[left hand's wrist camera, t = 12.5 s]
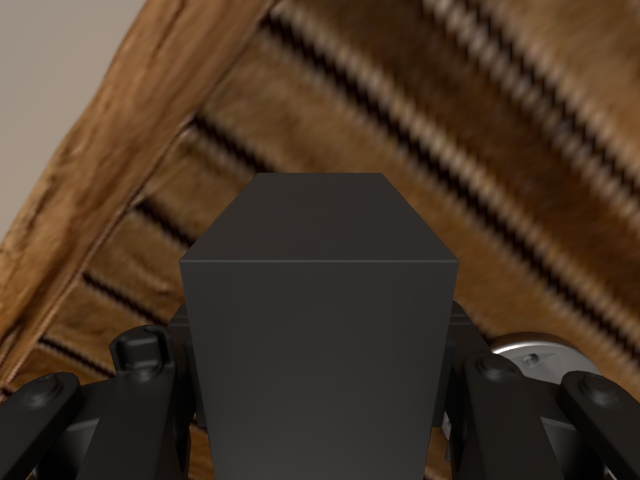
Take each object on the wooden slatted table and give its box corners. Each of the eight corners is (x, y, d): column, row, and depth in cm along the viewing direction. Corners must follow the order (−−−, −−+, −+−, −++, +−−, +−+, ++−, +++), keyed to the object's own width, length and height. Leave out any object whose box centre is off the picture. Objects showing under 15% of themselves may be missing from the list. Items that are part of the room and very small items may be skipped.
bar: (257, 172, 14) (177, 260, 6) (382, 172, 14) (460, 260, 6) (280, 519, 22) (259, 744, 14) (359, 519, 22) (379, 744, 14)
